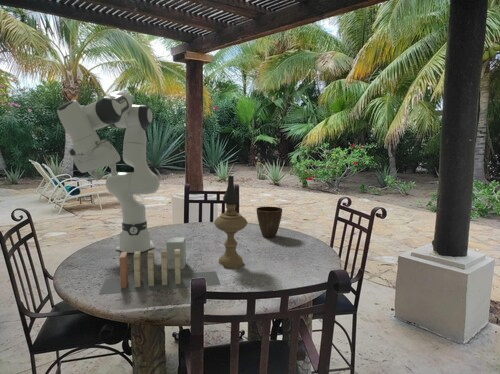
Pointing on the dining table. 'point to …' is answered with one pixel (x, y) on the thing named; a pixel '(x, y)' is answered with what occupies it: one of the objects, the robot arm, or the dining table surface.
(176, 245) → the supplement box
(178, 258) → the domino
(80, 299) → the dining table surface
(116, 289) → the mat
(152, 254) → the domino
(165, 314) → the dining table surface
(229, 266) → the oil lamp
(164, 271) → the domino
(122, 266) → the domino
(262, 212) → the plant pot
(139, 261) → the domino
